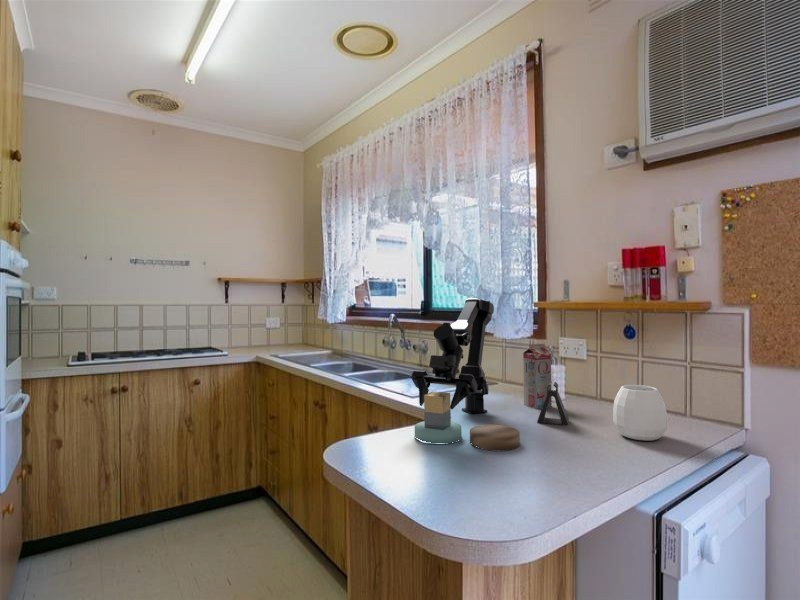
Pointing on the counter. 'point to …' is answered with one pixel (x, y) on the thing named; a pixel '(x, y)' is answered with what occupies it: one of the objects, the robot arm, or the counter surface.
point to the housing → (437, 410)
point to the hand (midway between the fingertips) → (435, 406)
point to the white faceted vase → (640, 412)
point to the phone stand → (561, 409)
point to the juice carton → (536, 375)
